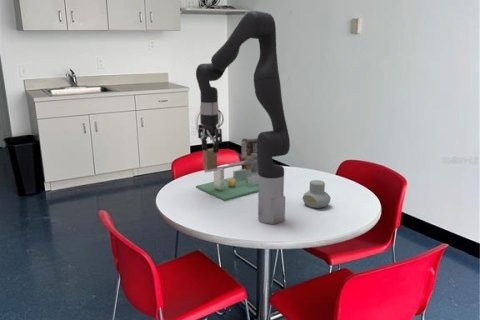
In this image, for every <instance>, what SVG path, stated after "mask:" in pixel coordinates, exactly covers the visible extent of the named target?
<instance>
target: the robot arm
mask: <svg viewBox="0 0 480 320" xmlns="http://www.w3.org/2000/svg"><path fill="white" fill-rule="evenodd" d="M276 31H277V28H276V21H275V19H274V17H273V15H272V14H270V13H268V12H264V11H258V10H250V11H248V12H246V13H245V14H244V15H243V17H241V18H240V20H239V22H238V24H237V25H236V27H235V28H234V29H233V31H232V33H231V34H230V36H229V37H228V39H227V40H226V41H225V43H224V44H223V45H222V46H221V47H220V48H219V49H218V50H217V51H216V52H215V53H214V54H213V55H212V56H211V59H210V60H211V61H210V62H211V63H201V64H198V65H197V67H196V69H195V77H196V81H197V84H198V88H199V91H200V106H199V107H200V108H199V110H200V111H199V112H200V116H199V117H200V124H198V129H197V130H198V135H197V138H198V139H200V141H201V149H202V150H205V149H208V138H209V139H210V140H211V141H212V148H213V153H217V154H218V153H219V151H220V149H219V148H220V147H219V146H220V145H219V144H222V143H223V136H222V135H223V133H222V131H223V130H222V128H218V127H217V125H219V124H220V123H219V121H220V120H219V119H220V116H219V101H218V99H219V98H218V97H219V95H218V94H219V93H218V89H217V88H216V87H215V86H211V83H210V82H214V81H215V82H216V81H218V80H220V78H221V77H222V76H223V75H224V73H225V71H226V70H227V68H228V67H229V66H230V65H231V64H232V63H233V62H234V61H235V60H237V58H238V55H239V54H240V53H239V52H240V48H241V46H242V45H243V44H244V43H245V42H247V41H248V40H250V39H255V40H258V44H259V45H258V46H259V59H258V61H257V64H256V66H255V70H254V73H253V85H254V86H253V87H254V93H255V97H256V99H257V101H258V102H259V104H260V105H261V107H262V108H263V109H264V111H265V112H266V113H267V115H268V117H269V118H270V122H271V124H272V125H271V126H272V130H269V131H266V130H265V131H261V132H260V133H258V135H257V137H256V139H257V165H258V170H259V184H258V192H257V195H258V197H257V198H258V199H257V200H258V201H257V206H258V207H257V211H258V212H257V219H258V221H259V222H261V223H264V224H270V225H276V224H279V223H282V222H284V221H286V196H285V194H284V192H285V191H284V189H285V187H284V186H285V168H284V167H283V165H280V164H277V163H274V162H273V161H274V160H273V158H274V157H282V156H285V155H287V154H288V153H289V151H290V148H291V145H290V144H291V143H290V135H289V134H290V133H289V130H288V125H287V121H286V116H285V110H284V104H283V96H282V87H281V86H282V85H281V78H280V72H279V66H278V65H279V62H278V54H277V32H276Z"/></svg>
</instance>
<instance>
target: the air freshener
mask: <svg viewBox="0 0 480 320" xmlns="http://www.w3.org/2000/svg"><path fill="white" fill-rule="evenodd" d="M325 186H326V184H325V182H324V180H320V179H314V180H310V181H309V190H308V191H306V192H305V193H304V194H303V196H302V201H303V203H304V204H305V205H306V206H308V207H310V208H312V209H319V208H320V209H321V208H325V207H327V206H328V205H329V204H330V203H331V197H330V195H329V193H328V192H327V191H325V188H326V187H325Z"/></svg>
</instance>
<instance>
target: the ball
mask: <svg viewBox="0 0 480 320" xmlns="http://www.w3.org/2000/svg"><path fill="white" fill-rule="evenodd" d="M229 178H230V179H228V181H227V184H228V185H229V186H230V187H233V186H235V185H236V180H235V179H234V178H232V177H229Z"/></svg>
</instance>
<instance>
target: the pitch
mask: <svg viewBox="0 0 480 320" xmlns="http://www.w3.org/2000/svg"><path fill="white" fill-rule="evenodd" d="M230 178H233V176H232V177H228V178H224V190H221V191H220V190H218V189H216V188H214V181H211V182H206V183H203V184H197V185H195V187H196V189H197V188H198V190H200V191H202V192H204V193H206V194H209V195H210V196H212V197H215V198H216V199H219V200H220V201H221V200H222V201H223V202H226V201H231V200H233V199H237V198H241V197H245V196H249V195H252V194H256V193H257V194H258V185H256V186H252V187H247V181H245V180H241V181H237V182H236V185H235V186H233V187H230V186H229V185H228V184H227V181H228V179H230Z"/></svg>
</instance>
